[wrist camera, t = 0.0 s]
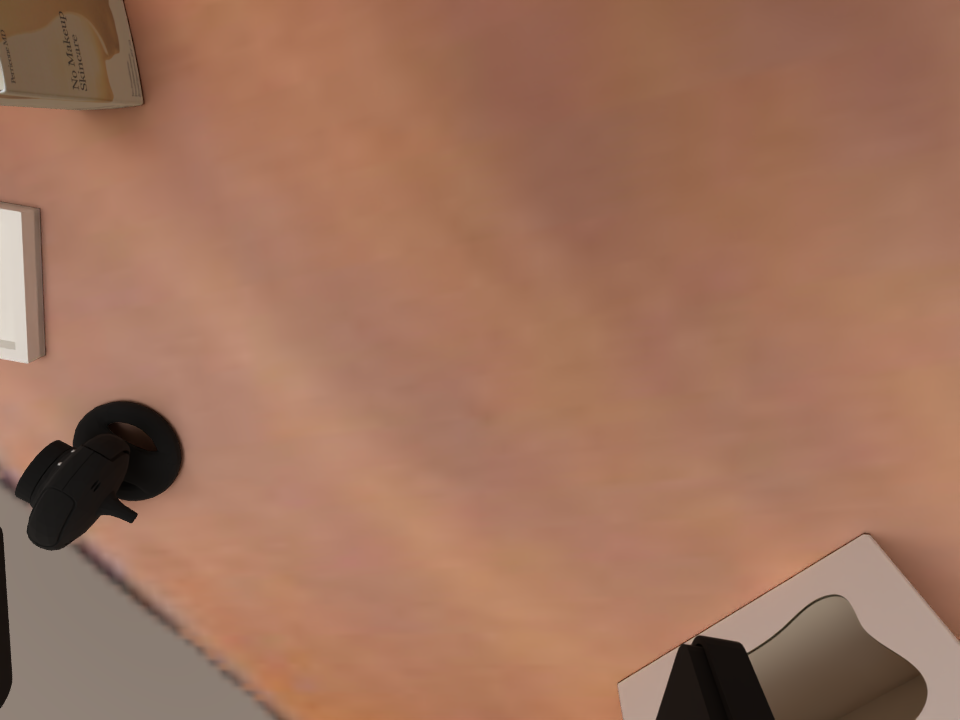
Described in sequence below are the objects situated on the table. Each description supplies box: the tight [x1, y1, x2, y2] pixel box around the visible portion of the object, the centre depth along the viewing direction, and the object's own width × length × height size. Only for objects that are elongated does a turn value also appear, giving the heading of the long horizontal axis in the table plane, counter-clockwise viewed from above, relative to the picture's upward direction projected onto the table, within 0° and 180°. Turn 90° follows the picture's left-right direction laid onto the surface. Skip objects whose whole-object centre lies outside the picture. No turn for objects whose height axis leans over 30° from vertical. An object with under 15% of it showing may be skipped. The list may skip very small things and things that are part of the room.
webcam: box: [15, 402, 181, 551], centre depth 46 cm, size 8×8×10 cm
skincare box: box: [0, 0, 143, 110], centre depth 36 cm, size 6×4×12 cm
